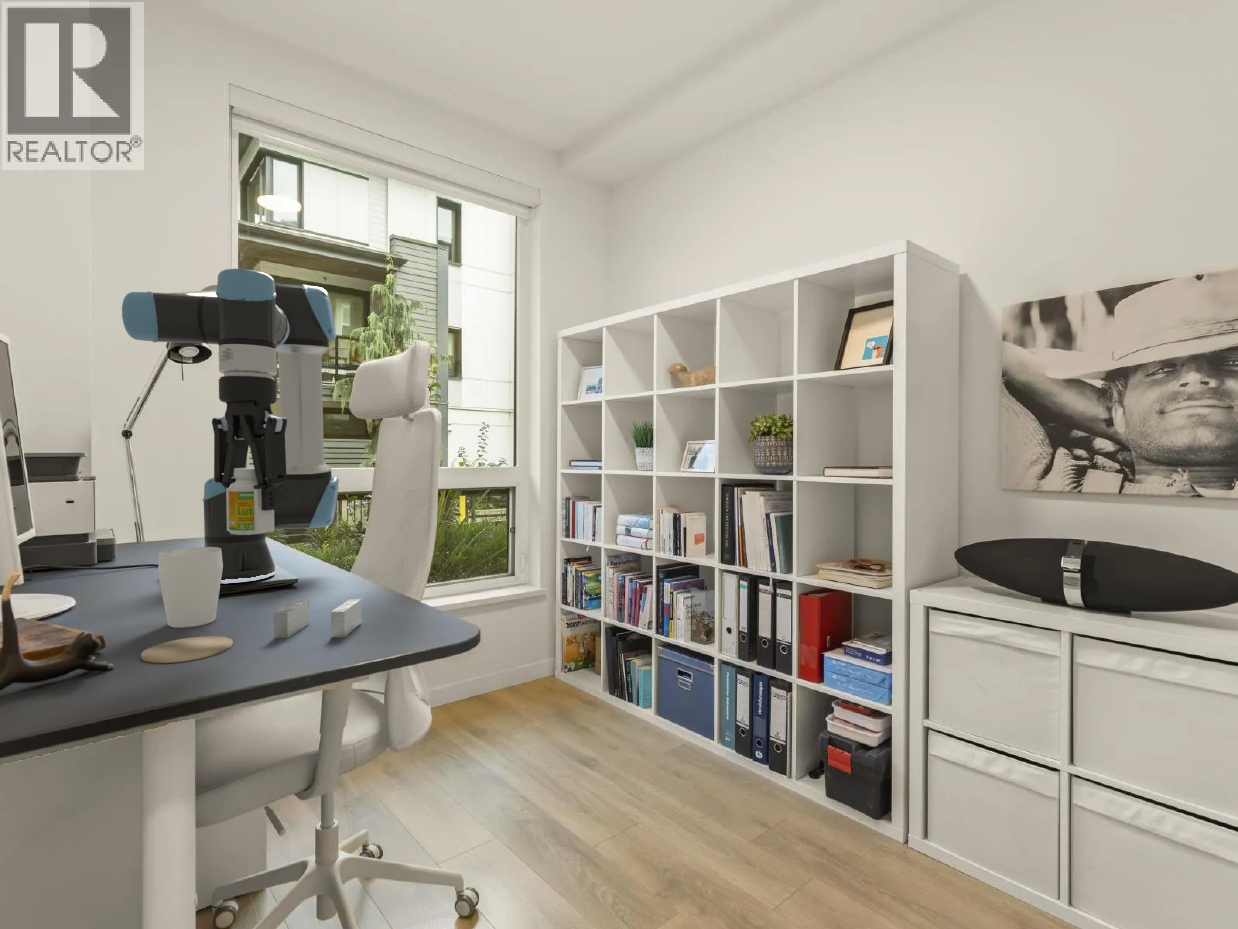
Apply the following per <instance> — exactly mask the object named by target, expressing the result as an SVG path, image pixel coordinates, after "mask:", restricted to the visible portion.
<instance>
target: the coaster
mask: <svg viewBox="0 0 1238 929" xmlns="http://www.w3.org/2000/svg"><path fill="white" fill-rule="evenodd" d="M233 642H234V641H233V639H231V638H229V637H227V636H220V635H219V636H217V635H216V636H215V635H205V636H193V637H186V638H179V639H174V640H170V641H166V642H162V643H159V644H158V643H157V644H156V645H153V646H150V647H148V648H146V649H145V650H143V651H142V652H141V654H140V658H141V660H142V661H143V662H146V663H151V664H174V663H184V662H190V661H196V660H200V659H201V660H202V659H206V658H209V657H212V656H217V655H219V654H221V653H224V652H226V651H227V650H229V649H231V648H232V647H233V646H234V645H233V644H234V643H233Z"/></svg>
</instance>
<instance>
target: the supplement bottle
mask: <svg viewBox="0 0 1238 929" xmlns="http://www.w3.org/2000/svg"><path fill="white" fill-rule="evenodd" d="M234 478H236V482H234V483H232V484H231V485H230V486H229V532H230V533H231V534H236V535H252V534H257V533H254V487H253V486H255V485H258V483H257V479H256V474H255V469H254V467H245V468H235V469H234ZM266 533H268V532H266ZM259 534H261V533H259Z"/></svg>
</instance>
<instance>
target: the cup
mask: <svg viewBox="0 0 1238 929" xmlns="http://www.w3.org/2000/svg"><path fill="white" fill-rule="evenodd" d="M222 569H223V562H222V551H221V548H218V547H204V546H195V547H181V548H174V549H168V550H167V549H166V550H163V551H160V552H159V553H158V566H157V576H158V580H159V585H160V590H161V597H162V600H163V606H164V612H165V618H166V623H167V626H168V627H171V628H177V629H182V628H183V629H186V628H194V627H200V626H204V625H207V624H210V623H212V622H214V621H216V619H217V618H216V617H217V611H218V603H219V597H220V591H221V590H220V589H221V585H220V584H221V577H222Z"/></svg>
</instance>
